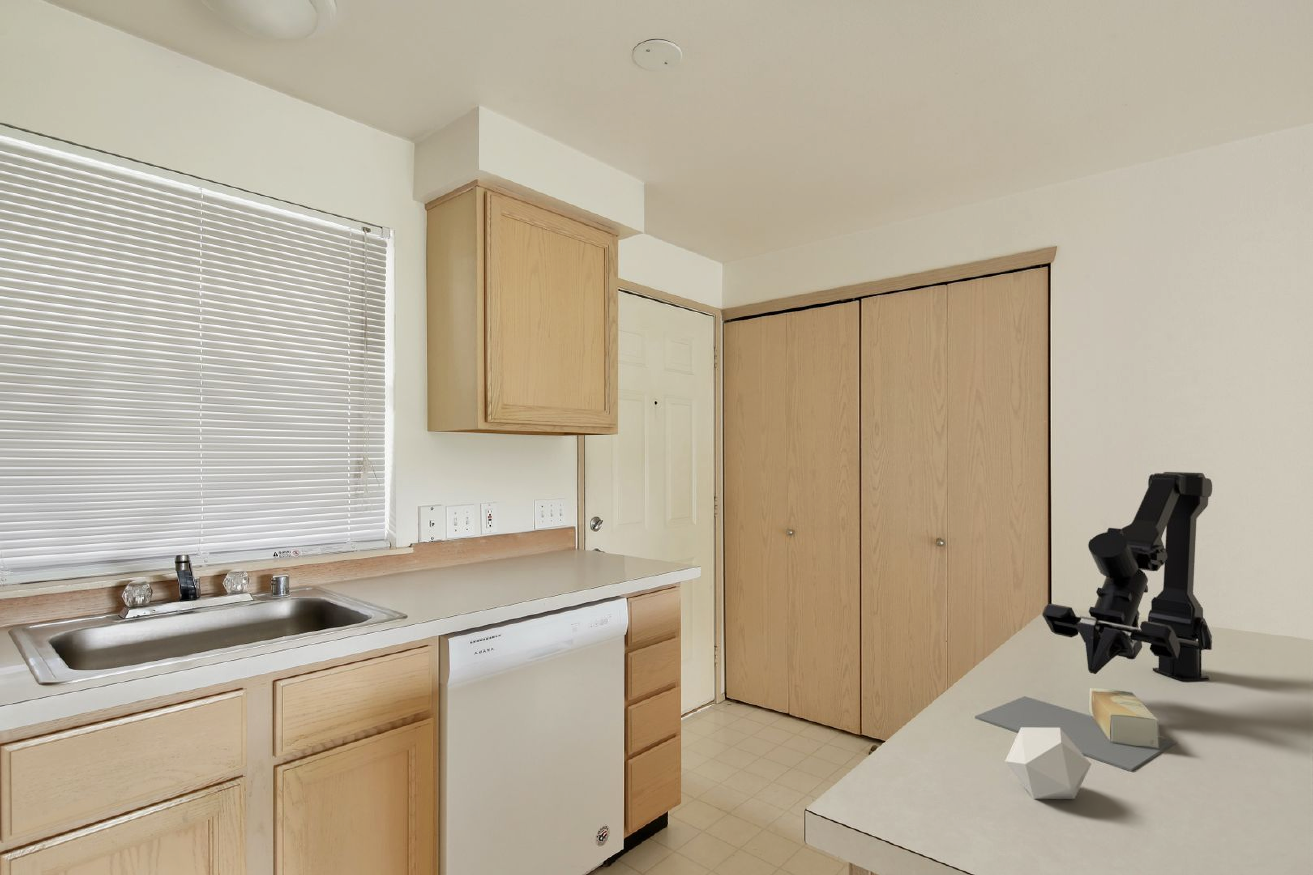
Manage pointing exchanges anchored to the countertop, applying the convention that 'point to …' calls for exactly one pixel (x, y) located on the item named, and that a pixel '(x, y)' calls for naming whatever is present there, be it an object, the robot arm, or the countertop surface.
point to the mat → (1072, 731)
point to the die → (1047, 763)
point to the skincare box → (1124, 718)
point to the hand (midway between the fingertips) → (1091, 672)
